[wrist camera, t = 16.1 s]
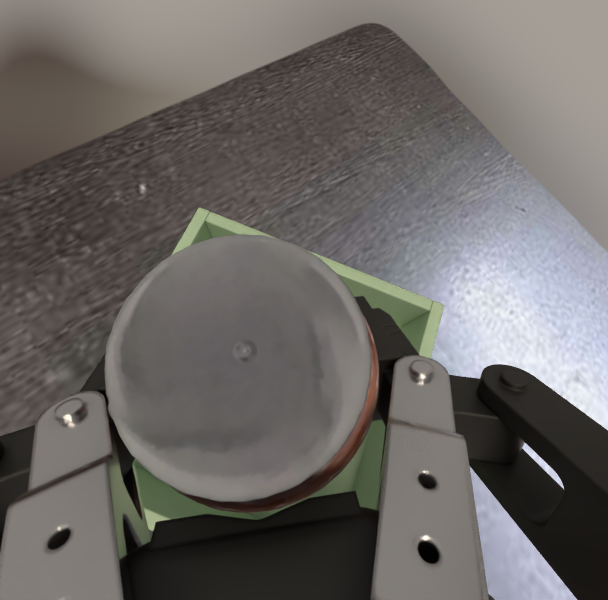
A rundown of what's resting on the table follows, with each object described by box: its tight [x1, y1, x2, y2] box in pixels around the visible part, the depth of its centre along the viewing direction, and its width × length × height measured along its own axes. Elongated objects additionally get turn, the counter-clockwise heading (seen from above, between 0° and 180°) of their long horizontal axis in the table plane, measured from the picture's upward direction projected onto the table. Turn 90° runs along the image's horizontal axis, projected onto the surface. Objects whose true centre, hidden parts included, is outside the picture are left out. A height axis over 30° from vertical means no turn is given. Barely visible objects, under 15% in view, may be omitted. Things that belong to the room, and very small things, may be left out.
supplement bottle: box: [104, 234, 379, 513], centre depth 10 cm, size 6×6×11 cm
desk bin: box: [133, 208, 444, 531], centre depth 21 cm, size 18×18×6 cm
